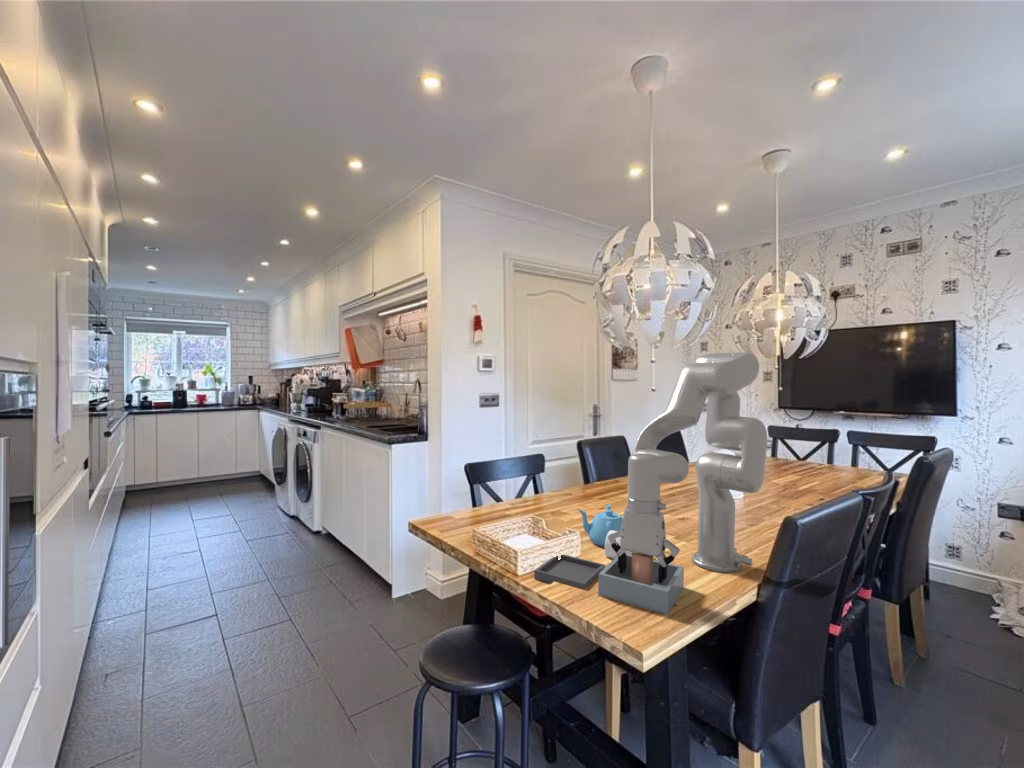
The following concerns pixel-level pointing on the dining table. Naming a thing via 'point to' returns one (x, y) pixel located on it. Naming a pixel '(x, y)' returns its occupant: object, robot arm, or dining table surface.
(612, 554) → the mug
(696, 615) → the dining table surface
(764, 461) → the robot arm
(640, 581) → the cylinder
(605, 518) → the teapot
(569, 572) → the tray
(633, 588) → the bin
